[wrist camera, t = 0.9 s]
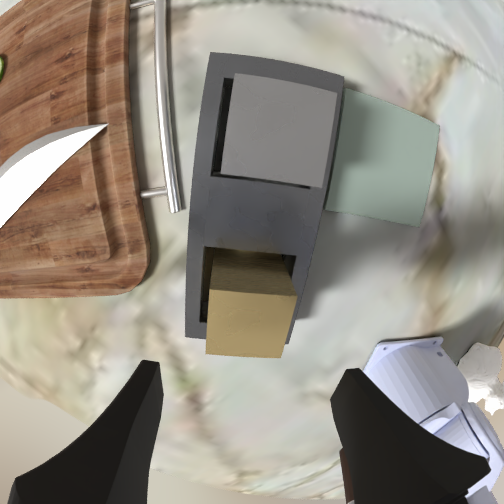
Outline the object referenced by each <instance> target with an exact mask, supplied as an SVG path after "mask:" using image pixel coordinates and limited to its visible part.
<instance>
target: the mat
mask: <svg viewBox="0 0 504 504" xmlns="http://www.w3.org/2000/svg"><path fill="white" fill-rule="evenodd" d="M439 127H440V126H439V125H437V124H435V123H433V122H431V121H429V120H427V119H425V118H423V117H421V116H419V115H417V114H414V113H412V112H410V111H408V110H405V109H403V108H401V107H398V106H396V105H393V104H391V103H388V102H386V101H383V100H381V99H378V98H375V97H372V96H370V95H367V94H364V93H361V92H358V91H355V90H352V89H349V88H344V89H343V97H342V105H341V112H340V119H339V125H338V132H337V138H336V144H335V150H334V156H333V161H332V167H331V172H330V178H329V183H328V188H327V193H326V198H325V203H324V209H325V210H329V211H335V212H341V213H347V214H352V215H358V216H364V217H369V218H374V219H380V220H385V221H390V222H395V223H400V224H405V225H410V226H414V227H419V226H420V223H421V219H422V216H423V212H424V208H425V204H426V200H427V196H428V191H429V187H430V182H431V177H432V172H433V167H434V161H435V156H436V149H437V143H438V135H439Z"/></svg>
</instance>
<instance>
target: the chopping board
mask: <svg viewBox="0 0 504 504" xmlns="http://www.w3.org/2000/svg"><path fill="white" fill-rule="evenodd" d="M130 2H131V0H22V1H20V2H19V3H17V4H16V5H15V6H13V7H12V8H11V9H9V10H8V11H7V12H5V13H4V14H3V15H1V16H0V298H58V297H87V296H109V295H118V294H122V293H126V292H129V291H131V290H132V289H133V288H135V287H136V286H137V285H138V284H139V283H140V282H141V281H142V280H143V278H144V276H145V273H146V271H147V268H148V266H149V263H150V261H151V260H150V240H149V236H148V231H147V226H146V221H145V215H144V210H143V204H142V199H145V198H152V197H159V196H166V195H167V200H168V206H169V212H170V213H176V212H179V211H181V210H182V208H181V201H180V194H179V187H178V179H177V171H176V163H175V154H174V145H173V135H172V125H171V113H170V100H169V86H168V67H167V36H166V0H141V1H138V2H134V3H131V4H130ZM151 4H154V66H155V87H156V103H157V116H158V127H159V137H160V147H161V156H162V164H163V172H164V179H165V186H166V187H161V188H154V189H148V190H142V191H141V192H140V186H139V179H138V172H137V165H136V157H135V149H134V140H133V130H132V119H131V106H130V88H129V18H130V9H131V10H132V9H136V8H139V7H143V6H147V5H151Z"/></svg>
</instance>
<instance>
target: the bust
mask: <svg viewBox="0 0 504 504" xmlns="http://www.w3.org/2000/svg"><path fill="white" fill-rule="evenodd" d="M501 365H502V355H501V352H500V349H499V348H497V347H495V346H487V345H484V344H481V343H475V344H474V345H473V346H472V347H471V348H470V349H469V351H468V352H467V354H465V355H464V356H463V357H462V358H461V359H460V361H459V364H458V366H457V368H458V369H459V370H460V372H461V373H462V374H463V376H464V377H465V379H466V381H467V383H468V387H469V399H468V402H469V403H470V402H475V403H477V402H478V401H479V400H480V399H481V398H484V399H485V403H486V404H485V410H487V411H489V412H490V413H491V415H493V414H494V411H495V410H497V409H499V408H501V409H503V408H504V381H503V383H502V384H501V383H500V381H499V379H498V377H497V375H498V374H499V372H500V370H501Z"/></svg>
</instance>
